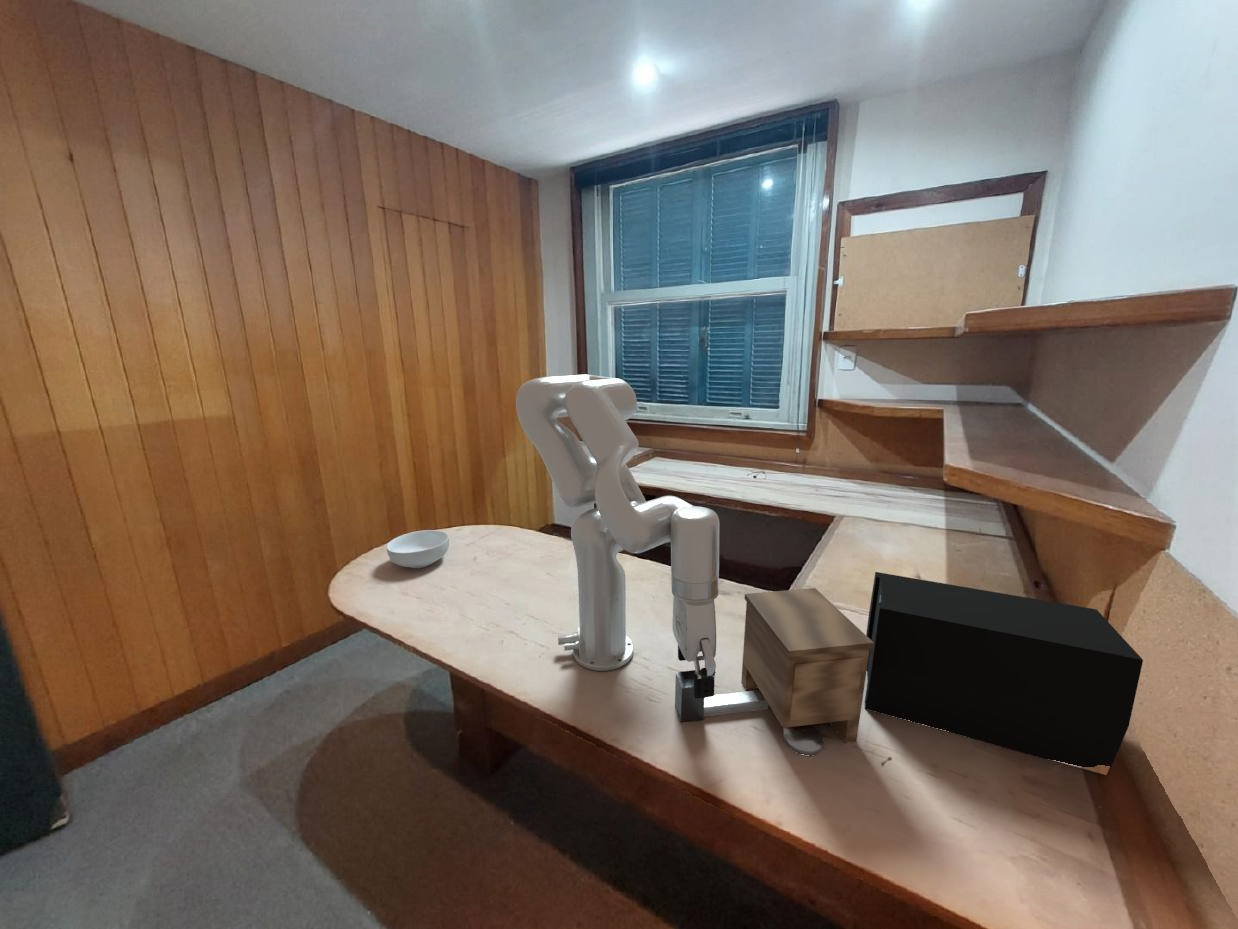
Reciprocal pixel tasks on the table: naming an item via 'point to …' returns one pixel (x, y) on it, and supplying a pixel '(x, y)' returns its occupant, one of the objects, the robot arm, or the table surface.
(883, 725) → the table surface
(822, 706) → the walnut cabinet
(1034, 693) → the uninterruptible power supply
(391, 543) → the cereal bowl
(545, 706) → the table surface
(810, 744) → the steel token
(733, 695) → the metal handled mallet
